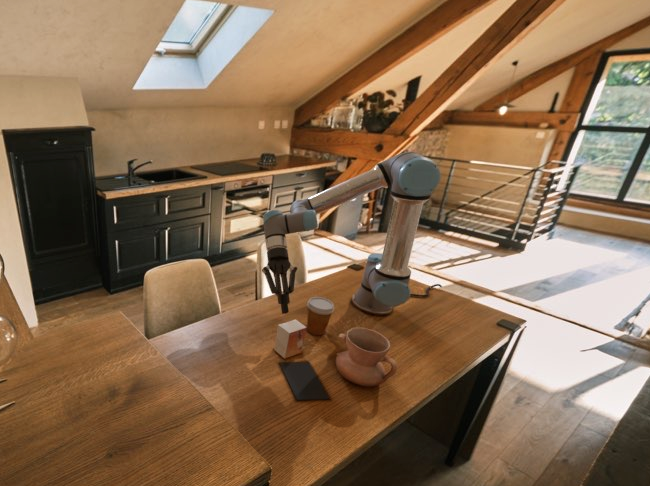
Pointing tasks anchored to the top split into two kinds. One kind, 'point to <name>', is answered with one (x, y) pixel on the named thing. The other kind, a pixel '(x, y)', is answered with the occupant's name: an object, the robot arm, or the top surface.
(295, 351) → the small box
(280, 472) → the top surface
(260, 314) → the top surface
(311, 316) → the disposable coffee cup
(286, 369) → the mat
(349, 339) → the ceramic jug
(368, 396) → the top surface
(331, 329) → the top surface
